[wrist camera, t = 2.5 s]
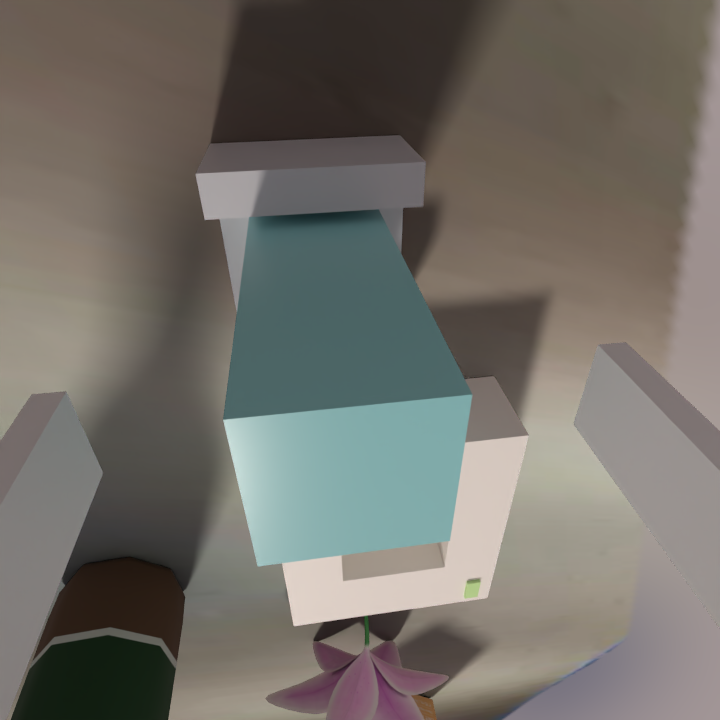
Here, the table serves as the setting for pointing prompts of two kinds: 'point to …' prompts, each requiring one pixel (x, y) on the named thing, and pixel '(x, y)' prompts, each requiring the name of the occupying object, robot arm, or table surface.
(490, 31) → the table surface
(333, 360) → the plug
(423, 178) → the holster
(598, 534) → the table surface
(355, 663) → the lily
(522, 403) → the table surface
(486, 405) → the port
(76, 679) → the beer bottle
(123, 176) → the table surface
